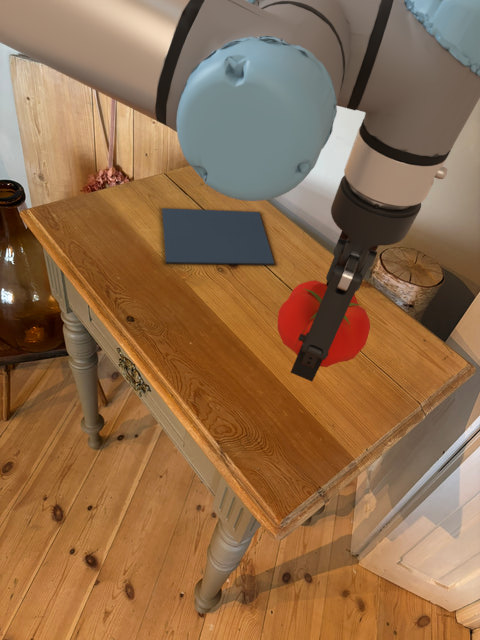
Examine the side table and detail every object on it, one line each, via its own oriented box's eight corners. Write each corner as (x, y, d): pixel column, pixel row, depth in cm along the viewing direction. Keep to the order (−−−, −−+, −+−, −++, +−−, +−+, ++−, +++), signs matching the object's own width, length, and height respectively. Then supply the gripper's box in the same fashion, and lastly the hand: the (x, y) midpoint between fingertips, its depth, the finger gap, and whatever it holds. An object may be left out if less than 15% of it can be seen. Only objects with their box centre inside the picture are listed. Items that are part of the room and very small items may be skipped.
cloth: (165, 263, 82) (166, 261, 82) (162, 209, 92) (162, 208, 92) (274, 264, 86) (274, 263, 86) (258, 213, 97) (259, 211, 96)
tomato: (372, 364, 57) (397, 324, 51) (296, 387, 53) (315, 347, 47) (328, 303, 63) (346, 262, 57) (256, 319, 59) (269, 277, 53)
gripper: (408, 279, 33) (319, 428, 49) (434, 148, 48) (360, 295, 65) (309, 242, 34) (255, 400, 50) (366, 125, 49) (310, 275, 66)
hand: (314, 341), depth 57 cm, fingers closed on tomato, 11 cm apart
